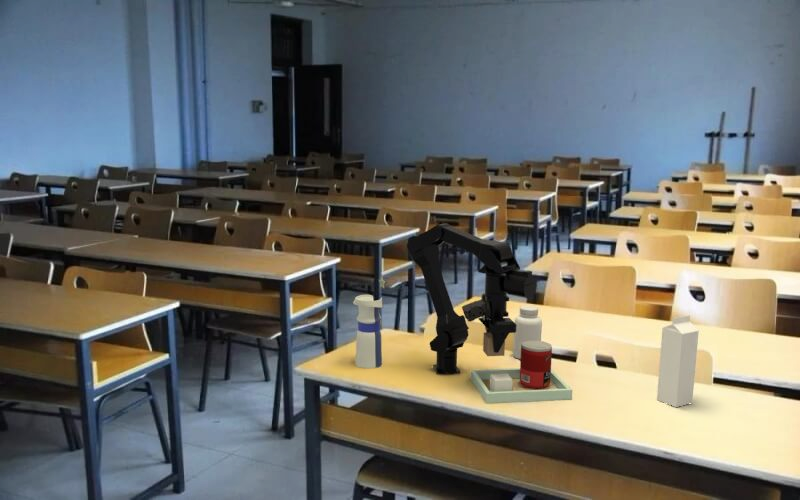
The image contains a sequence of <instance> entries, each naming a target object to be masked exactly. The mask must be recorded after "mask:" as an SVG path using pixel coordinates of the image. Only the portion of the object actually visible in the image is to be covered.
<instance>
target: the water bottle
mask: <svg viewBox="0 0 800 500" xmlns="http://www.w3.org/2000/svg"><path fill="white" fill-rule="evenodd" d="M380 277H381V278H380V279H378V281H379V283H380V284H379V287H380V288H383V289H385V283H386V281H385V280H384V279H383V276H380ZM352 304H353V305H355V306H357V308H358V315H357V316H356V320H357V322H358V323H357V332H356V339H355V341H356V342H355V343H356V344H355V366H357V367H359V368H362V369H375V368H376V367H377V368H380V367H382V365H383V351H382V350H383V346H382V345H383V343H382V341H383V340H382V336H383V335H382V332H381V331H382V330H381V326H382V317H381V314H380V308H381V309H383V308H384V307H383V297H380V299H377V300H374V296H373V295H371V294H360V295H357V296H355V298H354V300H353V301H352ZM379 366H380V367H379Z"/></svg>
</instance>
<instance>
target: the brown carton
mask: <svg viewBox="0 0 800 500" xmlns="http://www.w3.org/2000/svg"><path fill="white" fill-rule="evenodd" d="M482 343H483V344H482V351H483V353H484V354H485V355H486V356H487V357H504V356H505V348H506V340H505V341H504V343H503V345H502V347H501V349H500V350H499V352H498V353H495V352H494V348H493V340H492V333H491V332H488V333H486V332H483V341H482Z"/></svg>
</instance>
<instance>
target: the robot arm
mask: <svg viewBox="0 0 800 500" xmlns="http://www.w3.org/2000/svg"><path fill="white" fill-rule="evenodd" d="M443 243H447V244H450V245H452V246H454V247H457V248H459V249H461V250H464V251H466V252H468V253H469V254H472V255H474V256H475V257H476V259H477V260H478V262H481V263H482V264H483V265H482V267H480V268H479V269H478V270H477V271H478V273H481V274H485V278H484V279H485V280H484V293H482V294H481V299H479V300H474V301H472V302H469V303H467V304H464V305H463V306H461V309H462V312H463V314H462V315H459V314H458V313H457V312H456V311H455V310H454V307H453V304H452V303H453V302H452V301H451V297H450V295H449V291H448V289H447V286H446V283H445V281H444V278H443V274H442V272H441V268H440V265H439V255H440V250H439V246H441V245H443ZM406 248H407V249H406V250H407V251H408V253H409V255H410V257H411V259H412V262H414V263H415V265H417V266H418V267H419V268H420V270H421V273H422V276H423V278H424V282H425V285H426V287H427V291H428V293H429V297H430V299H431V302H432V303H431V304H432V305H433V308H434V312H435V315H436V316H437V317H436V324H435V331H436V332H435V333H436V336H435V337H434V338H433V339H432V340H430V342H429V348H430V351H432V352H435V353H436V356H435V357H436V361H435V363H436V364H433V366H432V367H433V369H434V371H435V372H436V374H438V375H442V374H460V373H461V370H460V369H459V367H458V349H459V348H463V347H464V344H465V342H466V341H467V340H468V337H469V329H470V327H469V326H468V324H467V322H474V321H475V320H476V319H478V320H479V321H480V323H481V324H482V325H483V326H484V329H485V333H488V332H491V333H492V340H493V348H494V352H495V353H498V352H499V350H500V349H501V347H502V345H503V343H504V341H505V342H506V339H507V337H508V336H509V334H514V333H515V332H516V327H517V325H516V324H515V321H513V320H512V319H511V318H510V317H509V312H508V311H507V308H508V307H507V302H510V297H509V296H515V297H518V298H519V297H520V298H524V299H532V298H533V296H534V295H535V293H536V291H537V282H536V278H535V277H534V276H533V271H531V270H523V269H521V267H520V265H519V263H518V261H517V259H516V257H515V255H514V254H513V251H512V247H511V245H510V244H508V243H507V242H503V241H500V240H499V241H498V240H490V239H483V238H480V237H478V236H476V235H473V234H470V233H469V232H467V231H464V230H461V229H459V228H456V227H454V226H452V225H451V224H449V223H441V224H435V226H433V227H431V228H430V229H427V230H426V231H423V232H422V233H420V234H417V235H412V236H411V237H409V239H408V240H407V243H406ZM508 295H509V296H508ZM466 320H467V322H466Z"/></svg>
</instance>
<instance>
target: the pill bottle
mask: <svg viewBox="0 0 800 500" xmlns="http://www.w3.org/2000/svg"><path fill="white" fill-rule="evenodd" d="M538 315H539V308H538V307H536V306H534V305H521V306H520V308H519V315H516V316H515V318H514V323H515V324H516V325H517V327H516V332H515V333H513V343H512V344H513V345H512V346H513V347H512V355H513V357H514V358H516V359H518V360H521V344H522V343H523V342H525V341H532V340H533V341H542V330H543V328H542V327H543V320H542V318H541V317H539V316H538Z"/></svg>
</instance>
